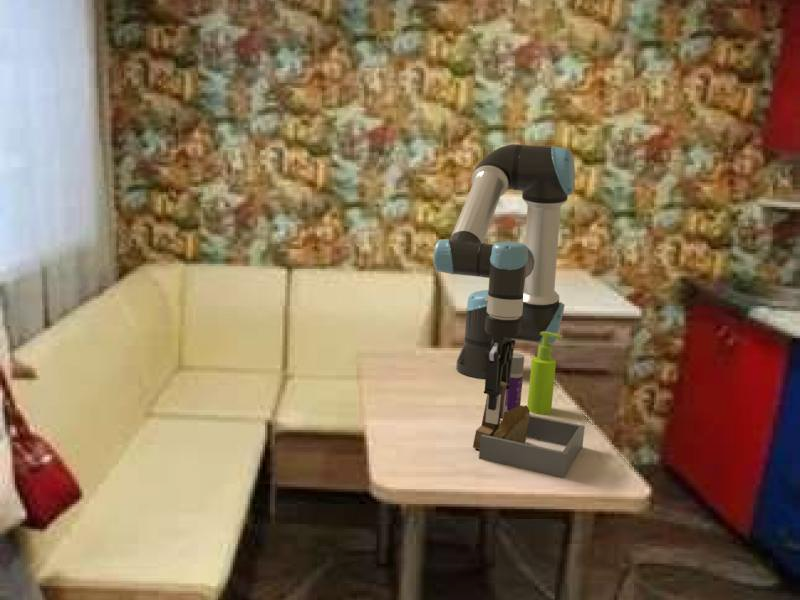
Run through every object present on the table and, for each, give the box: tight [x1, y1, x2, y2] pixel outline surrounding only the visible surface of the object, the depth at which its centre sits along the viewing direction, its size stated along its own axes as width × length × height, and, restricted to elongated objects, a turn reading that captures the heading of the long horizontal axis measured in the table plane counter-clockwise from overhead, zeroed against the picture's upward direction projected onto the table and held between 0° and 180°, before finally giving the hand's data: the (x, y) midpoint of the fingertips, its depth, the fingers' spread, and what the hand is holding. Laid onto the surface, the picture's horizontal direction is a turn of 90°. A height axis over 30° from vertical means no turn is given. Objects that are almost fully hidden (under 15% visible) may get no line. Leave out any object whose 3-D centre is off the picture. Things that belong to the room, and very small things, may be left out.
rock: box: [493, 405, 531, 444], centre depth 172 cm, size 11×9×10 cm
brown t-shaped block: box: [472, 381, 507, 451], centre depth 172 cm, size 10×3×14 cm, turn 154°
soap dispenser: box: [526, 331, 564, 415], centre depth 194 cm, size 6×7×20 cm
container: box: [504, 352, 525, 413], centre depth 191 cm, size 5×5×15 cm
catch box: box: [478, 410, 586, 478], centre depth 170 cm, size 18×18×5 cm
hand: (494, 419), depth 172 cm, fingers closed on brown t-shaped block, 3 cm apart
